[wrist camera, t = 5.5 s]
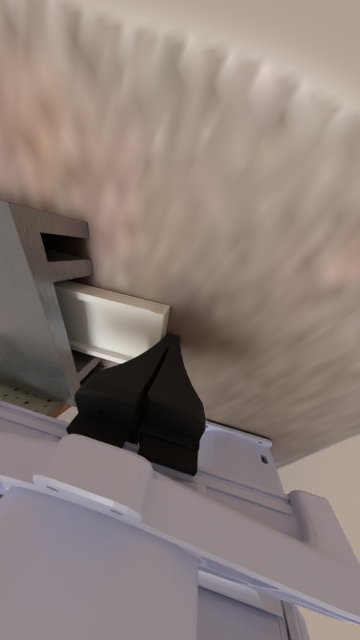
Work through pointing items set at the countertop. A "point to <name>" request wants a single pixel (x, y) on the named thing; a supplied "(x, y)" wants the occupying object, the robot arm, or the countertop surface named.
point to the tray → (109, 321)
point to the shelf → (38, 305)
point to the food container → (32, 401)
